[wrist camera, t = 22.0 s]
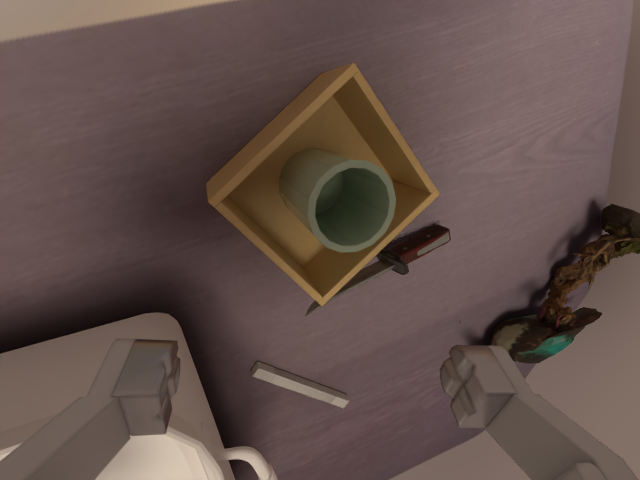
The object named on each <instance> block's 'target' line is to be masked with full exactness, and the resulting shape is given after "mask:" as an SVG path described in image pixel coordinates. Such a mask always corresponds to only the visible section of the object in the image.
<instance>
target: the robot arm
mask: <svg viewBox="0 0 640 480" xmlns="http://www.w3.org/2000/svg"><path fill="white" fill-rule="evenodd" d="M178 349H179V348H178V342H177V341H173V340H150V339H121V338H116V340H115V341H114V342H113V343H112V344H111V346H110V348H109V350H108V352H107V354H106V356H105V358H104V361H103V363H102V365H101V367H100V369H99V371H98V373H97V375H96V377H95V379H94V381H93V384H92V386H91V388H90V390H89V392H88V394H87V396H86V397H79V398H78V399H77V400H75V401H74V402H73V403H72V404H70V405H69V406H68V407H67V408H65V409H64V410H63V411H62V412H60V413H59V414H58V415H57V416H55V417H54V418H53V419H52V420H51V421H49V422H48V423H47V424H46V425H44V426H43V427H42V428H41V429H39V430H38V431H37V432H36V433H34V434H33V435H32V436H31V437H29V438H28V439H27V440H26V441H24V442H23V443H22V444H21V445H19V446H18V447H17V448H16V449H15V450H13V451H12V452H11V453H10V454H8V455H7V456H6V457H5V458H3V459H2V460H1V461H0V480H95V479H96V478H97V477H98V475H99V474H100V473H101V472H102V471H103V470H104V468H105V467H106V466H107V465H108V464H109V463H110V462H111V460H112V459H113V458H114V457H115V456H116V455H117V453H118V452H119V451H120V450H121V449H122V448H123V447H124V445H125V444H126V443H127V442H128V441H129V440H130V439H131V438H130V436H144V435H164V434H166V431H167V427H168V424H169V420H170V416H171V412H172V405H171V398H172V397H173V396H174V395H175V394H176V393H177V388H178V384H179V378H180V366H181V364H180V358H178V357H177V352H178ZM449 354H450V356H451V357H450V358H449V359H447V360H445V361H444V362H443V364H442V366H441V368H440V379H441V384H442V387H443V389H444V392H445V393H446V394H447V395H448V396H449V397H450V398H452V401H451V405H450V407H451V409H452V411H453V414H454V416H455V419H456V421H457V423H458V426H459V428H486V429H485V430H486V431H487V432H488V433H489V434H490V435H491V436H492V437H493V438H494V440H495V441H496V442H497V443H498V444H499V445H500V446H501V447H502V448H503V449H504V450H505V451H506V453H507V454H508V455H509V456H510V457H511V458H512V459H513V460H514V461H515V462H516V463H517V464H518V466H519V467H520V468H521V469H522V470H523V471H524V472H525V473H526V474H527V475H528V477H530V479H531V480H638V479H637V477H636V476H635V474H634V473H633V472H632V470H631V469H630V467H629V466H628V465H627V463H626V462H625V461H624V459H622V458H621V457H620V456H618V455H617V454H616V453H614V452H613V451H612V450H610V449H609V448H608V447H607V446H605V445H604V444H603V443H601V442H600V441H599V440H598V439H596V438H595V437H594V436H592V435H591V434H590V433H588V432H587V431H586V430H584V429H583V428H582V427H581V426H579V425H578V424H577V423H575V422H574V421H573V420H571V419H570V418H569V417H568V416H566V415H565V414H564V413H562V412H561V411H560V410H558V409H557V408H556V407H555V406H553V405H552V404H551V403H549V402H548V401H547V400H545V399H544V398H543V397H541V396H540V395H539V394H534V393H533V392H532V390H531V388H530V387H529V385H528V384H527V382H526V380H525V379H524V377H523V376H522V374H521V373H520V371H519V369H518V368H517V366H516V365H515V363H514V362H513V360H512V358H511V357H510V355H509V354H508V352H507V351H506V349H504V348H503V347H502V346H484V345H456V346H454V347H452V348H451V350H450V352H449Z"/></svg>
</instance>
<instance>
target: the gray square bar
mask: <svg viewBox="0 0 640 480" xmlns="http://www.w3.org/2000/svg"><path fill="white" fill-rule="evenodd" d="M251 370H252V376H253V377H256V378H258V379H261V380H264V381H267V382H270V383H273V384H276V385H278V386H281V387H284V388H287V389H290V390H293V391H296V392H299V393H301V394H304V395H307V396H310V397H313V398H316V399H319V400H321V401H324V402H327V403H330V404H333V405H336V406H339V407H342V408H344V407H345V406H346V405H347V404H348V402H349V399H348V397H347V395H346V394H344V393H341V392H338V391H336V390H333V389H330V388H328V387H325V386H322V385H320V384H317V383H314V382H312V381H309V380H306V379H304V378H301V377H298V376H296V375H293V374H290V373H288V372H285V371H282V370H279V369H277V368H274V367H271V366H269V365H266V364H263V363H261V362H258V361H257V362H256V364H255V365H254V366H253V368H252V369H251Z"/></svg>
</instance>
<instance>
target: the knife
mask: <svg viewBox="0 0 640 480" xmlns="http://www.w3.org/2000/svg"><path fill="white" fill-rule="evenodd" d="M450 240H451V239H450V231H449V229H448V228H446V227H443V226H440V225H434V226H432V227H430V228H428V229H427V230H426V231H424V232H423V233H421V234H420V235H418V236H416V237H413V238H411V239H409V240H408V241H407V242H405V243H402V244H399V245H397V246H396V247H395V248H393V249H391V250H385V251H383V250H381V251H380V252H379V253H378V254H377V256H378V259H379V260H380V261H378V262H376V263H374V264H372V265H370V266H368V267H366V268H364V269H362V270H360V271H359V272H358V273H357V274H356V275H355V276H354V277H352V278H351V279H350V280H349V281H348V282H347V283H346V284H345V285H344V286H343V287H342V288H341V289H340V290H339V291H338V292H337V293H336V294H335V295H334V296H333V297H332V298H330V299H329V300H328V301H327V302H326V303H325V304H327V303H329V302H330V301H332V300H334V299H335V298H337V297H339V296H341V295H343V294H344V293H346V292H349V291H351V290H353V289H354V288H356V287H358V286H360V285H362V284H364V283H366V282H368V281H370V280H372V279H374V278H376V277H377V276H379V275H381V274H383V273H385V272H387V271H389V270H391V269H392V270H393V271H395V272H397V273H400V274H402V275H405V274H407V273H408V272H409V270H408V265H407V264H408V263H410V262H412V261H414V260H416V259H417V258H419V257H421V256H423V255H425V254H427V253H429V252H431V251H432V250H434V249H436V248H438V247H440V246H442V245H444V244H446V243H447V242H449V241H450ZM325 304H324V305H325ZM320 307H322V306H321V305H320V304H319V303H318V302H317V301H316V300H315V301H314V302H313V304H312V305H311V306H310V307H309V309H308V311H307V313H306V315H305V317H306V316H307V315H309V314H310V313H312V312H313V311H315V310H317V309H318V308H320Z"/></svg>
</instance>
